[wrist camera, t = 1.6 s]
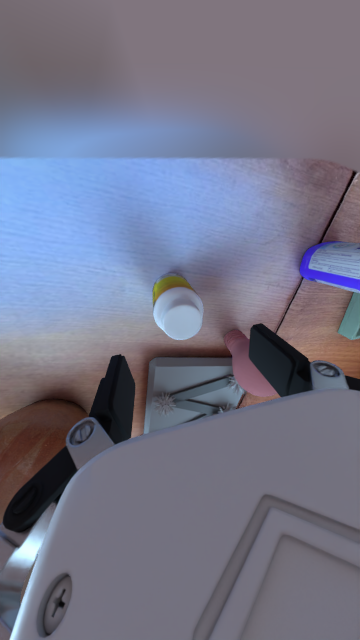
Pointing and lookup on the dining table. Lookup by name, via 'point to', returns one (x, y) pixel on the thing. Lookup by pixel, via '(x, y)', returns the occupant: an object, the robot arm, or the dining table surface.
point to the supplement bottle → (177, 307)
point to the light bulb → (246, 366)
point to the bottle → (333, 264)
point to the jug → (32, 442)
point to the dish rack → (351, 319)
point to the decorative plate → (188, 390)
